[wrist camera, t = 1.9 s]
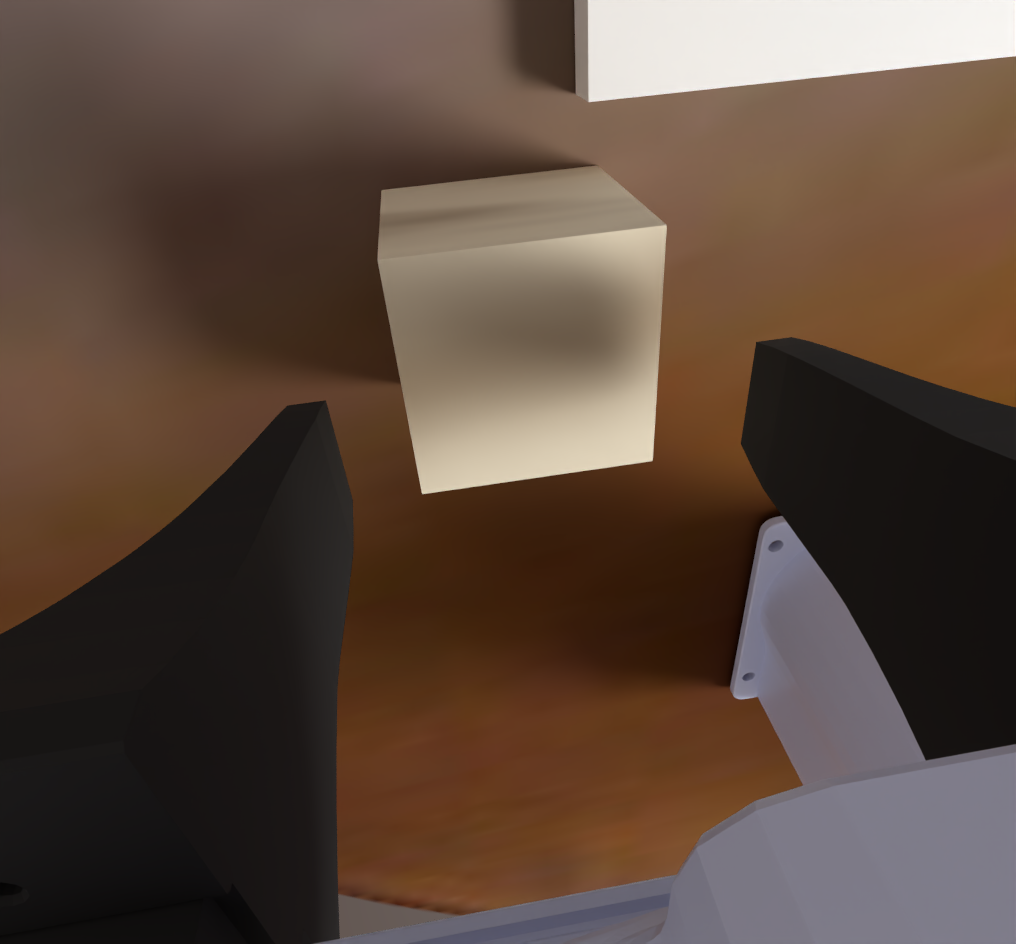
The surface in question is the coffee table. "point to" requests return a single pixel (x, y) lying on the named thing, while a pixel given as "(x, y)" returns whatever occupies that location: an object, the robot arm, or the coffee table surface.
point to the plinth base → (773, 40)
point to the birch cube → (523, 324)
